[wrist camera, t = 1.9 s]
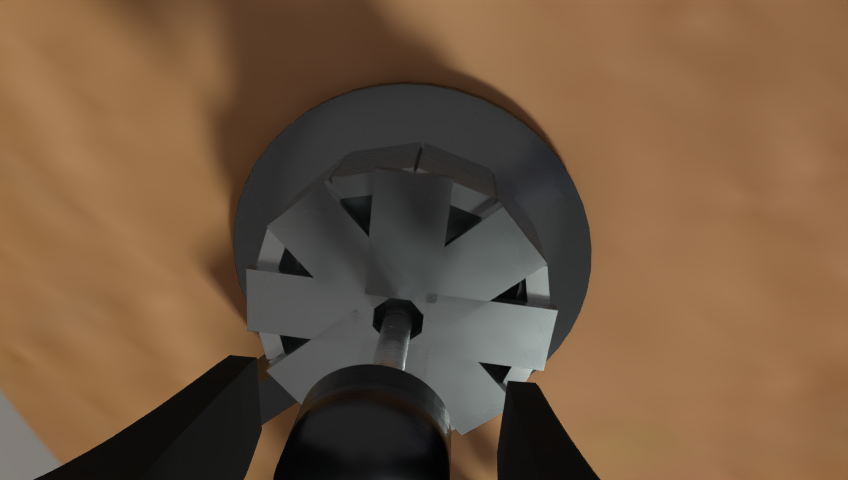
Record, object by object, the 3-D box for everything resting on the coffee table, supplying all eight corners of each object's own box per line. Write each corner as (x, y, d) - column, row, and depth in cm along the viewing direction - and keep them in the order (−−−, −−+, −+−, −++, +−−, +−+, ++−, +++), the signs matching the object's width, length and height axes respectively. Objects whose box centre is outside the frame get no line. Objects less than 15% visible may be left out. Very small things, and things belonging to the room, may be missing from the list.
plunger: (406, 246, 15) (369, 396, 9) (477, 329, 16) (484, 515, 10) (319, 308, 16) (236, 479, 10) (391, 383, 17) (352, 581, 11)
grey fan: (441, -6, 16) (433, -8, 12) (655, 292, 19) (699, 361, 16) (155, 241, 20) (84, 295, 16) (374, 456, 23) (356, 542, 19)
